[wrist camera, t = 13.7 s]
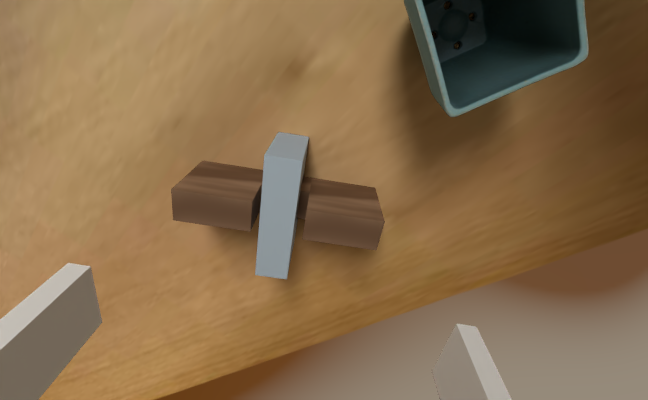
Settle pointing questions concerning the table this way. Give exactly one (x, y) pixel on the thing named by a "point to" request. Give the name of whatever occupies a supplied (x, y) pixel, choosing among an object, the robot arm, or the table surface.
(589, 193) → the table surface
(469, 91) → the flower pot
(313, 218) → the walnut notched block
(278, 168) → the light blue notched brick
